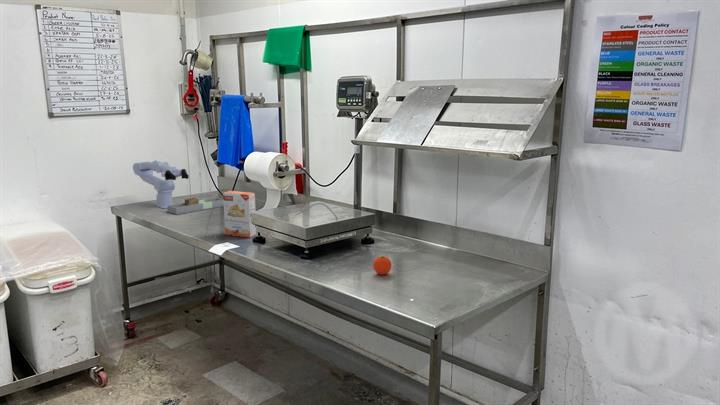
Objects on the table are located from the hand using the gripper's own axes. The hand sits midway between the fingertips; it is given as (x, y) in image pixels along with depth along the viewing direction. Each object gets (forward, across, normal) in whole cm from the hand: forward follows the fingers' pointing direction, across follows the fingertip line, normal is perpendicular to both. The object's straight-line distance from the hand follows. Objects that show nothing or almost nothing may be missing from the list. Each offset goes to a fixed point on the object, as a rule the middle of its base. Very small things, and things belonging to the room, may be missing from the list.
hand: (181, 177), depth 293 cm
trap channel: (+2, +10, +20) cm, 22 cm away
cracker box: (+67, -7, +10) cm, 68 cm away
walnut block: (+2, +6, +17) cm, 18 cm away
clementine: (+150, -2, -4) cm, 150 cm away
